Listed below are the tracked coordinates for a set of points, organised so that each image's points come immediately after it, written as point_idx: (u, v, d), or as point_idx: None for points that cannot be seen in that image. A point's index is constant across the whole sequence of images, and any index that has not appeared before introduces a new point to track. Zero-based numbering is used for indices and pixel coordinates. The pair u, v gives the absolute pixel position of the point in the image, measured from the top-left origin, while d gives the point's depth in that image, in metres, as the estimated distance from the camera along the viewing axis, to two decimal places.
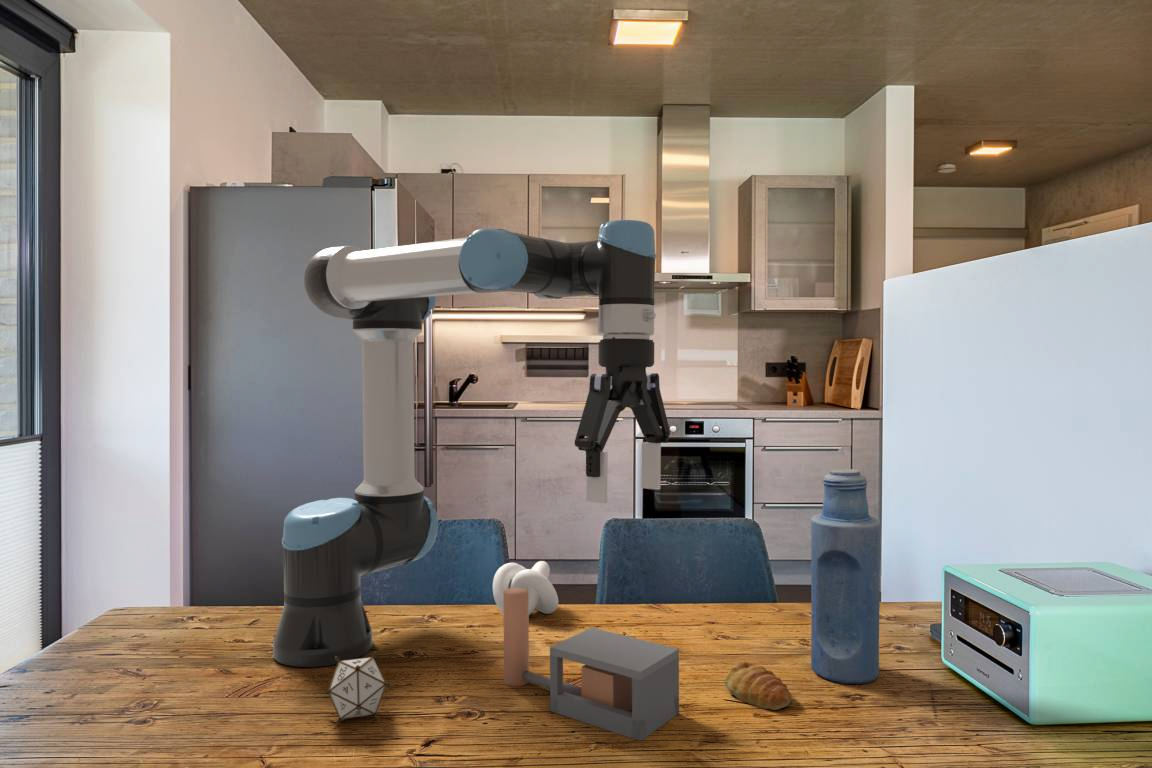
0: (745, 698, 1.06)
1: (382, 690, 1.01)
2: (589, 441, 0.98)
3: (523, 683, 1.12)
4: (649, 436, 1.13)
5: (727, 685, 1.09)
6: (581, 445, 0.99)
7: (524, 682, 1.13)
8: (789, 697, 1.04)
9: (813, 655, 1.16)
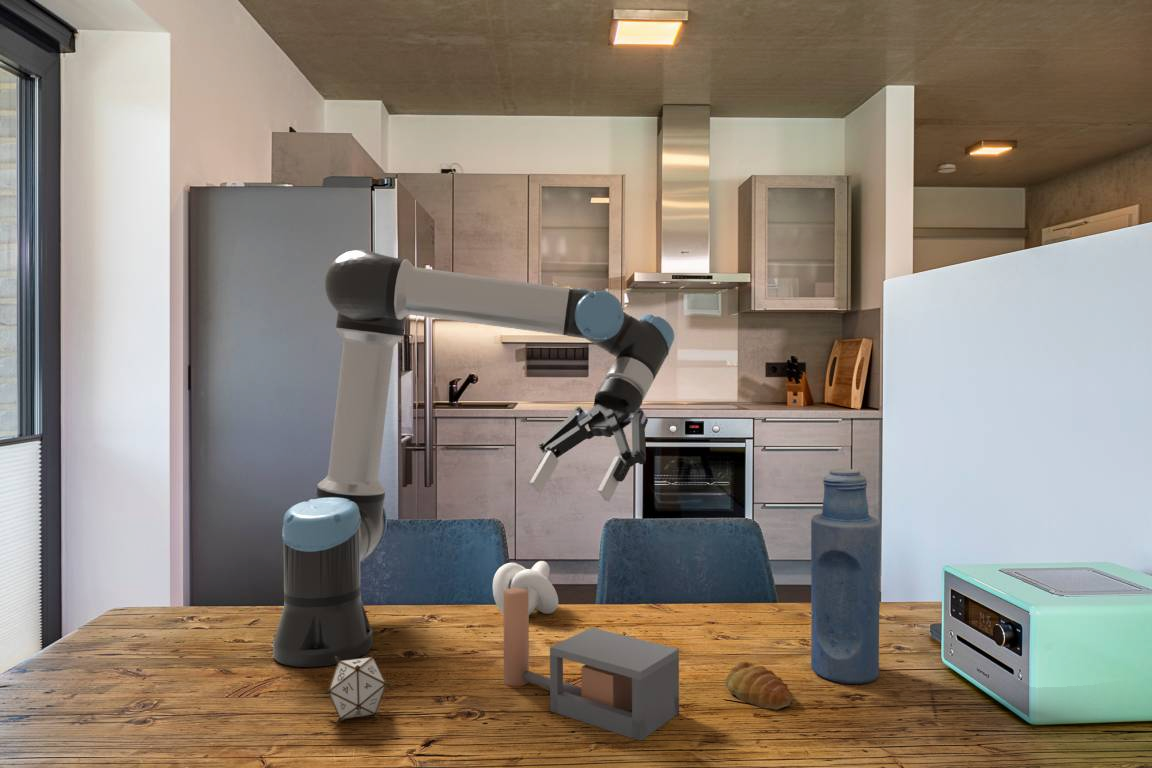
0: (746, 698, 1.06)
1: (382, 690, 1.01)
2: (645, 459, 1.21)
3: (523, 683, 1.12)
4: (552, 449, 1.30)
5: (728, 685, 1.09)
6: (640, 457, 1.20)
7: (524, 682, 1.13)
8: (790, 697, 1.05)
9: (813, 655, 1.16)
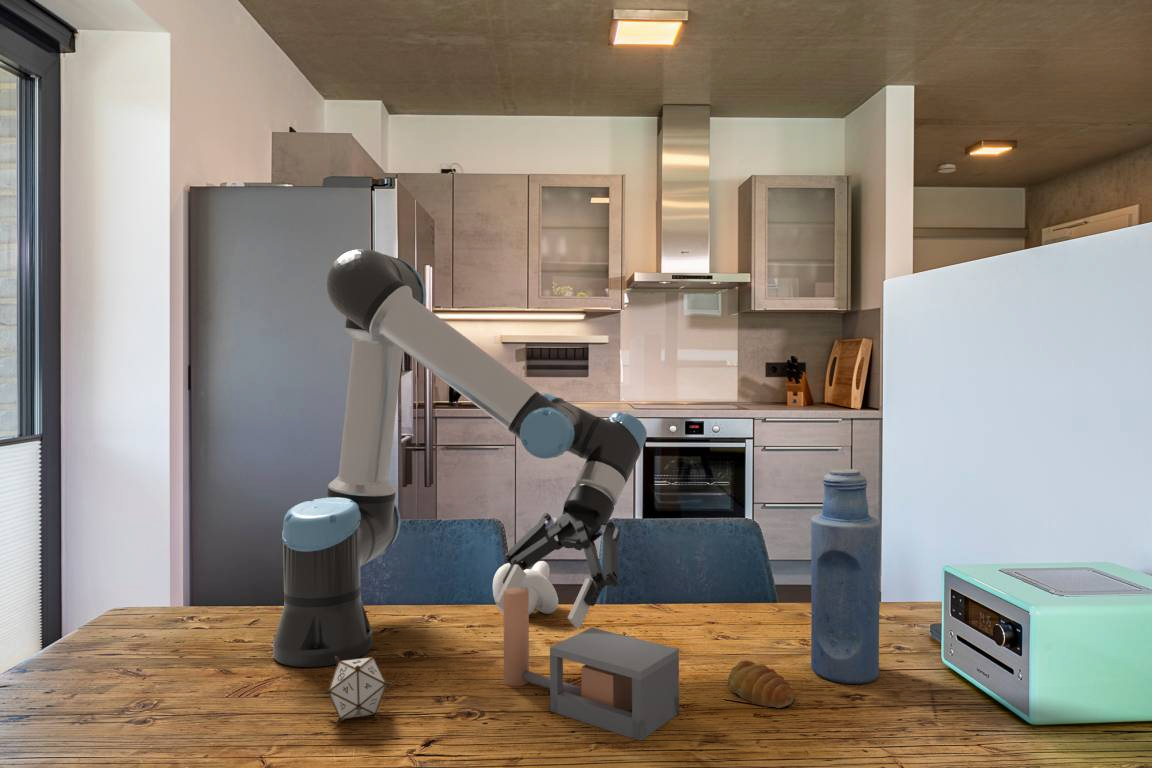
0: (749, 697, 1.07)
1: (382, 690, 1.01)
2: (617, 581, 1.15)
3: (523, 683, 1.12)
4: (519, 561, 1.23)
5: (730, 684, 1.10)
6: (612, 580, 1.13)
7: (524, 682, 1.13)
8: (793, 695, 1.05)
9: (813, 655, 1.16)
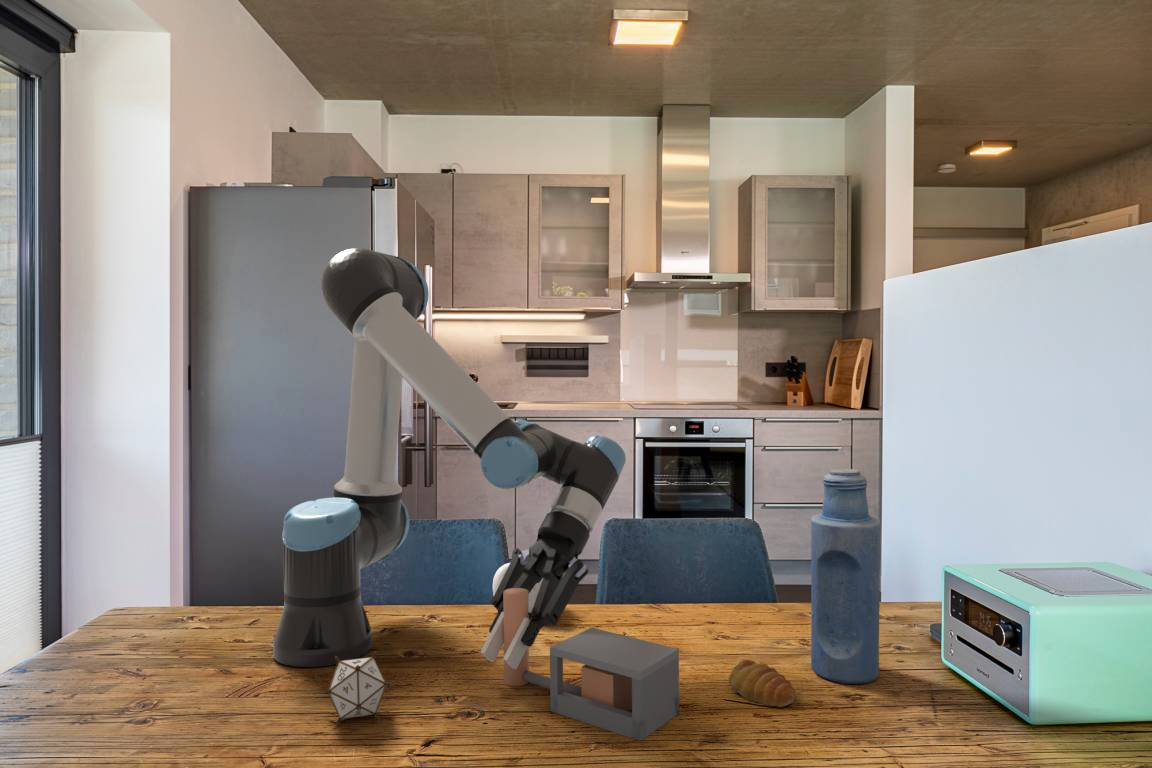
0: (750, 696, 1.07)
1: (382, 690, 1.01)
2: (556, 622, 1.12)
3: (523, 683, 1.12)
4: None
5: (731, 683, 1.10)
6: (550, 619, 1.11)
7: (524, 682, 1.13)
8: (794, 694, 1.05)
9: (813, 655, 1.16)
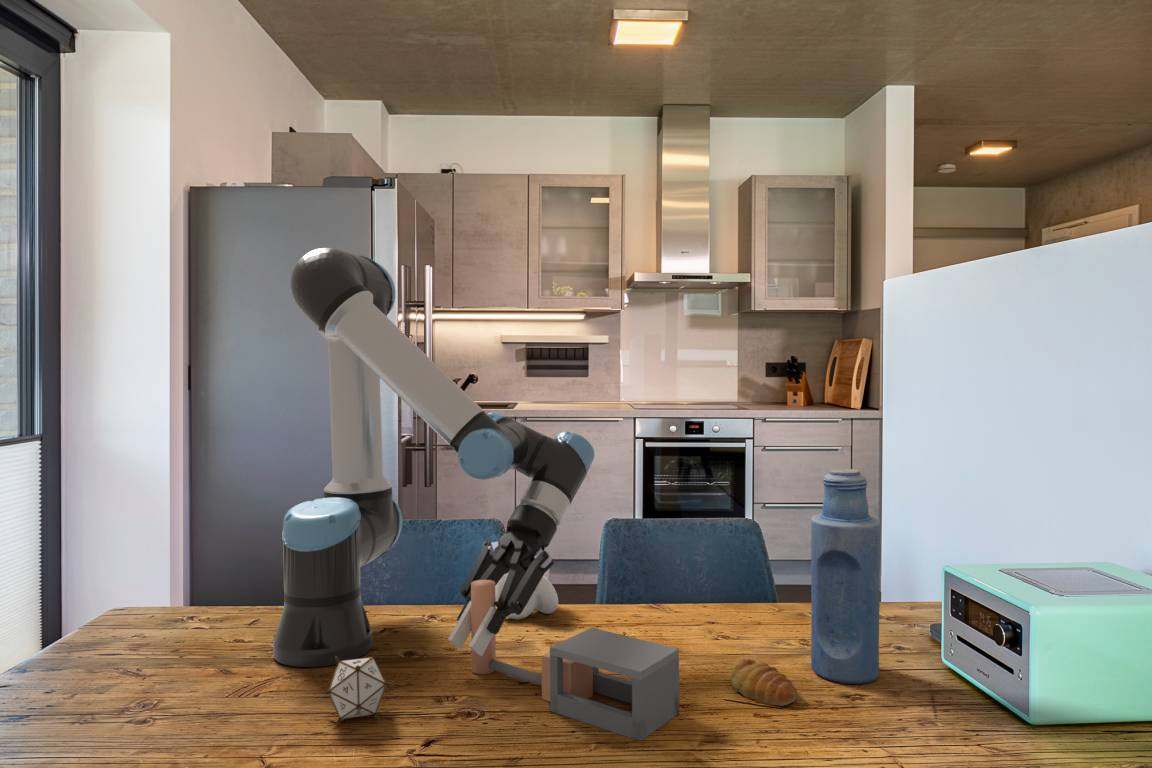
0: (752, 695, 1.07)
1: (382, 690, 1.01)
2: (521, 611, 1.16)
3: (489, 671, 1.17)
4: None
5: (732, 682, 1.10)
6: (515, 608, 1.16)
7: (490, 670, 1.17)
8: (795, 693, 1.06)
9: (813, 655, 1.16)
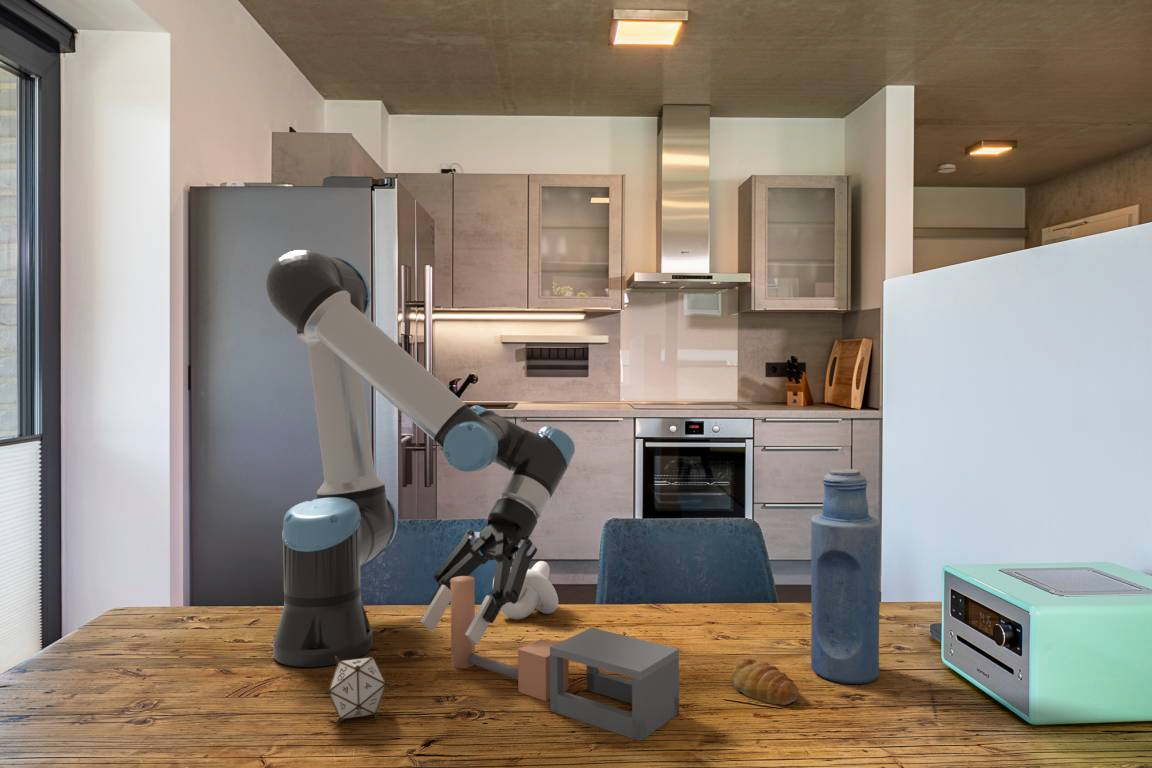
0: (753, 695, 1.07)
1: (382, 690, 1.01)
2: (517, 599, 1.18)
3: (469, 665, 1.19)
4: (447, 582, 1.24)
5: (734, 682, 1.10)
6: (511, 597, 1.17)
7: (470, 665, 1.19)
8: (797, 692, 1.06)
9: (813, 655, 1.16)
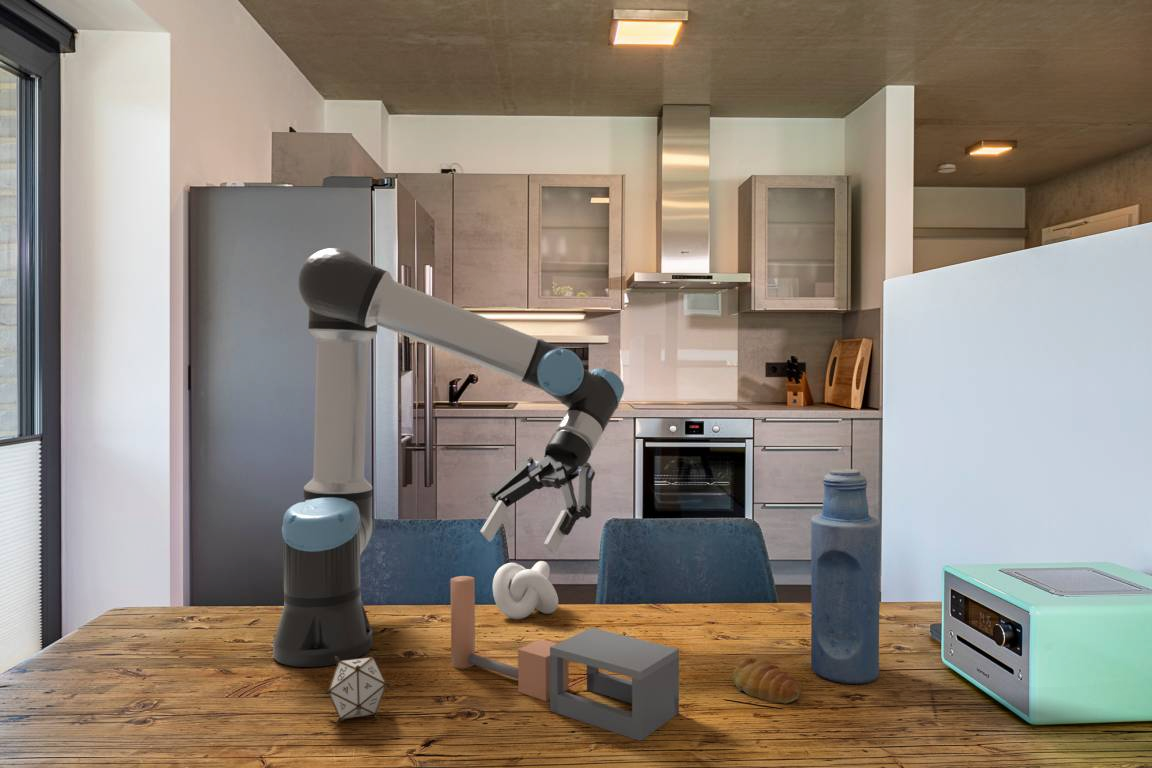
0: (755, 694, 1.08)
1: (382, 690, 1.01)
2: (590, 513, 1.26)
3: (469, 665, 1.19)
4: (503, 498, 1.35)
5: (735, 681, 1.11)
6: (585, 511, 1.25)
7: (470, 665, 1.19)
8: (799, 690, 1.07)
9: (813, 655, 1.16)
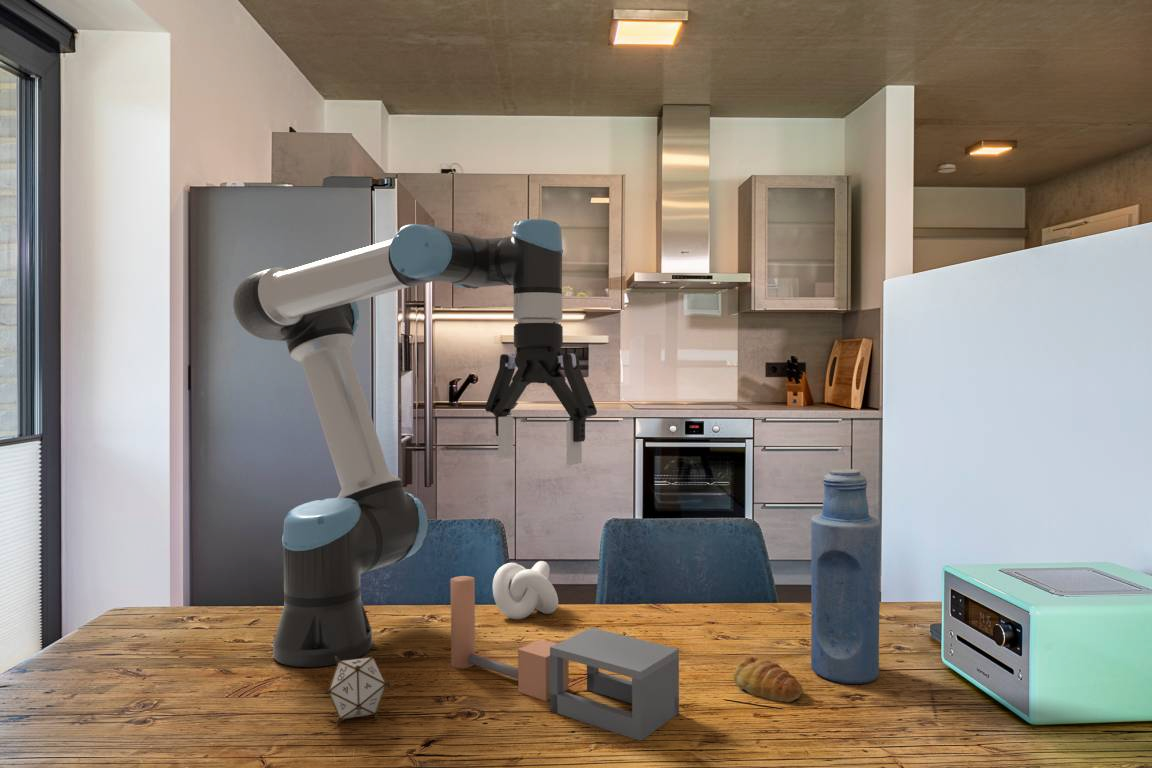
0: (757, 693, 1.08)
1: (382, 690, 1.01)
2: (595, 409, 1.17)
3: (469, 665, 1.19)
4: (501, 410, 1.26)
5: (737, 680, 1.11)
6: (590, 414, 1.16)
7: (470, 665, 1.19)
8: (801, 688, 1.07)
9: (813, 655, 1.16)
